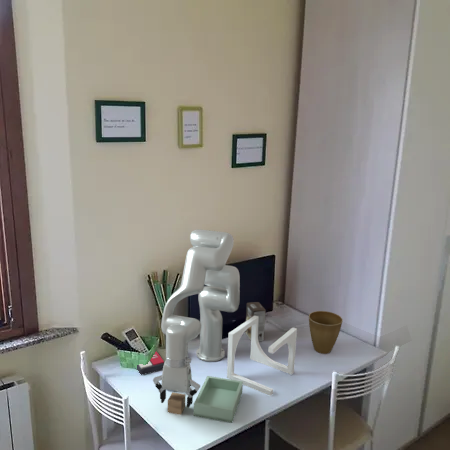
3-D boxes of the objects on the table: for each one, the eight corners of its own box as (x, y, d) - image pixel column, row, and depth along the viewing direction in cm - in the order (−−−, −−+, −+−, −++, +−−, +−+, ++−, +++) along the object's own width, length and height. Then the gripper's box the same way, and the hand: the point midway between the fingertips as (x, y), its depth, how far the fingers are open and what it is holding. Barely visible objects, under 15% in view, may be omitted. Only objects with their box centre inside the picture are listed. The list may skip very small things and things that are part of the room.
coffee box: (244, 333, 226) (246, 302, 222) (257, 331, 228) (258, 301, 224) (251, 342, 218) (252, 310, 214) (264, 340, 220) (266, 309, 216)
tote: (207, 387, 183) (207, 375, 182) (242, 392, 180) (242, 381, 179) (193, 416, 166) (193, 403, 165) (232, 422, 163) (232, 410, 162)
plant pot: (342, 359, 206) (346, 325, 202) (308, 357, 206) (311, 324, 202) (335, 342, 221) (338, 311, 216) (304, 341, 221) (306, 309, 217)
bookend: (293, 372, 195) (297, 328, 190) (270, 396, 179) (273, 348, 174) (252, 357, 206) (254, 315, 200) (226, 378, 190) (228, 333, 184)
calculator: (140, 368, 189) (128, 349, 201) (140, 377, 190) (128, 358, 202) (165, 361, 194) (152, 343, 206) (165, 370, 195) (152, 352, 208)
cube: (172, 404, 172) (172, 392, 171) (185, 406, 171) (185, 394, 170) (167, 412, 168) (167, 400, 166) (181, 415, 167) (181, 402, 165)
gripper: (203, 358, 166) (202, 400, 170) (157, 351, 170) (157, 393, 174) (197, 369, 159) (196, 413, 163) (149, 361, 162) (149, 405, 167)
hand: (176, 402), depth 168 cm, fingers open, 9 cm apart
